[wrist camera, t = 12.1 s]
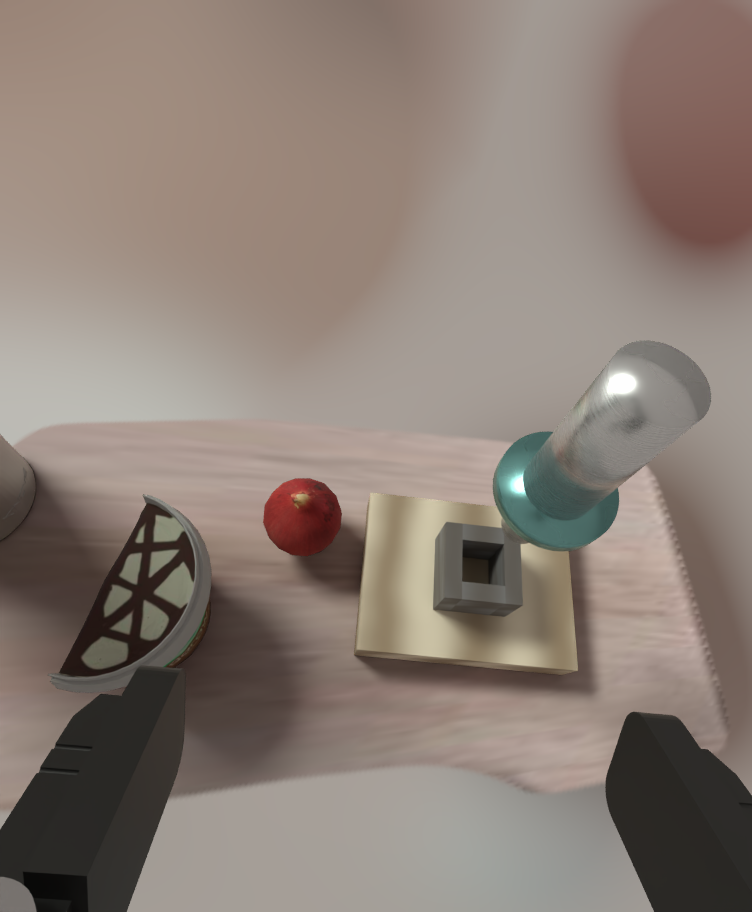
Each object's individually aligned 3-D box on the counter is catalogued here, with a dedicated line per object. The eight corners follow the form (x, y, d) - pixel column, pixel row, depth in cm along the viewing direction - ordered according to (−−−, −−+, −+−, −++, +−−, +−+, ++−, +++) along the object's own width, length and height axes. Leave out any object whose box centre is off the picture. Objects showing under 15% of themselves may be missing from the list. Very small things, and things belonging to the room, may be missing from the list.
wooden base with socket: (353, 655, 43) (361, 640, 37) (367, 506, 48) (376, 471, 42) (561, 674, 44) (603, 664, 38) (551, 527, 49) (587, 496, 43)
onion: (306, 486, 49) (306, 442, 41) (353, 534, 47) (361, 497, 40) (252, 530, 46) (242, 492, 39) (299, 582, 45) (298, 552, 38)
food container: (185, 725, 40) (149, 720, 31) (101, 697, 40) (42, 685, 31) (251, 560, 45) (238, 515, 36) (178, 536, 45) (147, 486, 37)
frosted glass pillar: (468, 571, 31) (584, 448, 18) (468, 472, 34) (569, 304, 21) (574, 582, 32) (762, 470, 19) (566, 484, 35) (725, 325, 21)
